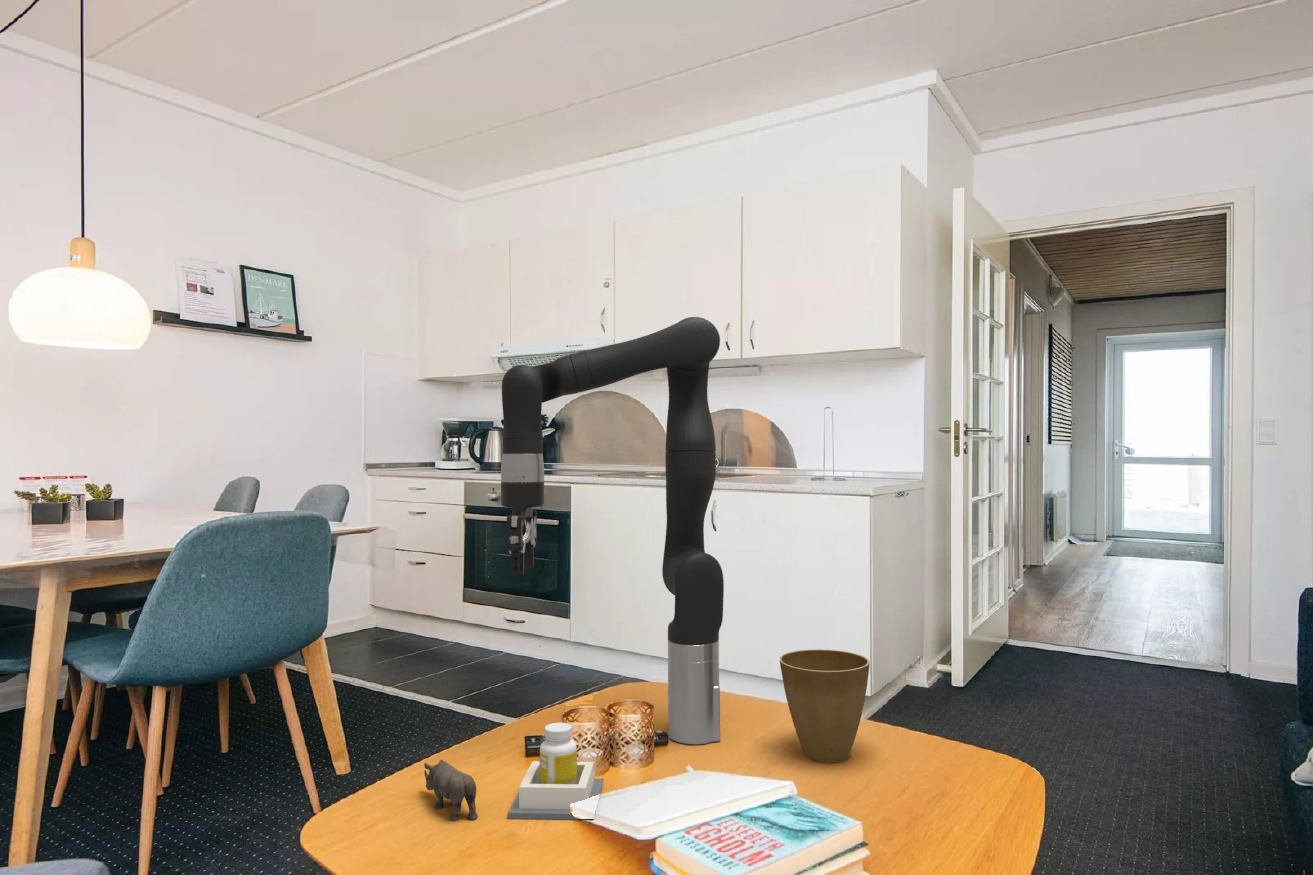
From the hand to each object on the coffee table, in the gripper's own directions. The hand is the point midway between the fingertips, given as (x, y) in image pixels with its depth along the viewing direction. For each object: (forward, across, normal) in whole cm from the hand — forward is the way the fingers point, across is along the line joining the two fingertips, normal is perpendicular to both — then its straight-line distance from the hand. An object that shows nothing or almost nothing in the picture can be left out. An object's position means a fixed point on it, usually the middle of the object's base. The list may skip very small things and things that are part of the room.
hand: (522, 572), depth 137 cm
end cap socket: (+30, -22, -10) cm, 38 cm away
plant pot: (+30, -3, -52) cm, 60 cm away
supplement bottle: (+30, -22, -10) cm, 38 cm away
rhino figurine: (+30, -24, +6) cm, 39 cm away
